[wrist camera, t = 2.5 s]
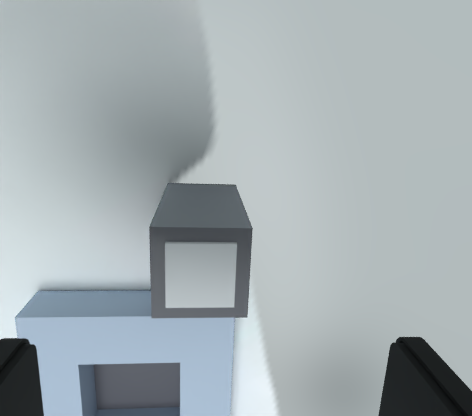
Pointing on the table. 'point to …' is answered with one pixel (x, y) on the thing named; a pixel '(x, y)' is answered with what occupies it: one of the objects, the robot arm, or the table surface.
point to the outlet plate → (126, 356)
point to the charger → (200, 253)
